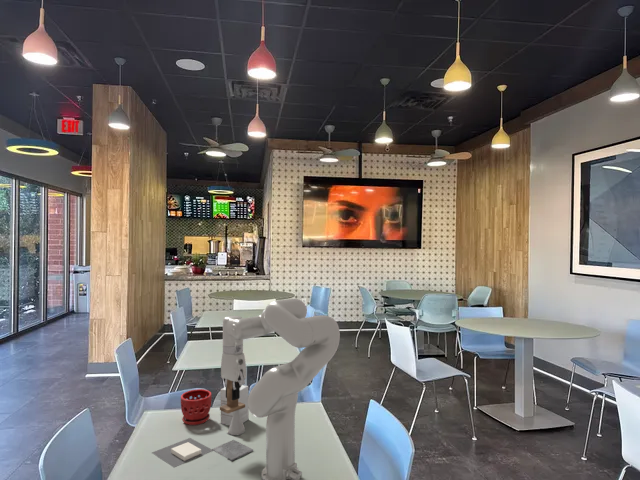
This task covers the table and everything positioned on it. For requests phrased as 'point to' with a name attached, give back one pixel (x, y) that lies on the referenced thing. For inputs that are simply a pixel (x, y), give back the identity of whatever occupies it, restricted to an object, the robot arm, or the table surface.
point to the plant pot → (196, 406)
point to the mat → (176, 461)
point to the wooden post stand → (231, 404)
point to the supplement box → (244, 412)
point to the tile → (186, 451)
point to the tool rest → (232, 450)
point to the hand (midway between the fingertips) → (232, 397)
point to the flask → (236, 424)
